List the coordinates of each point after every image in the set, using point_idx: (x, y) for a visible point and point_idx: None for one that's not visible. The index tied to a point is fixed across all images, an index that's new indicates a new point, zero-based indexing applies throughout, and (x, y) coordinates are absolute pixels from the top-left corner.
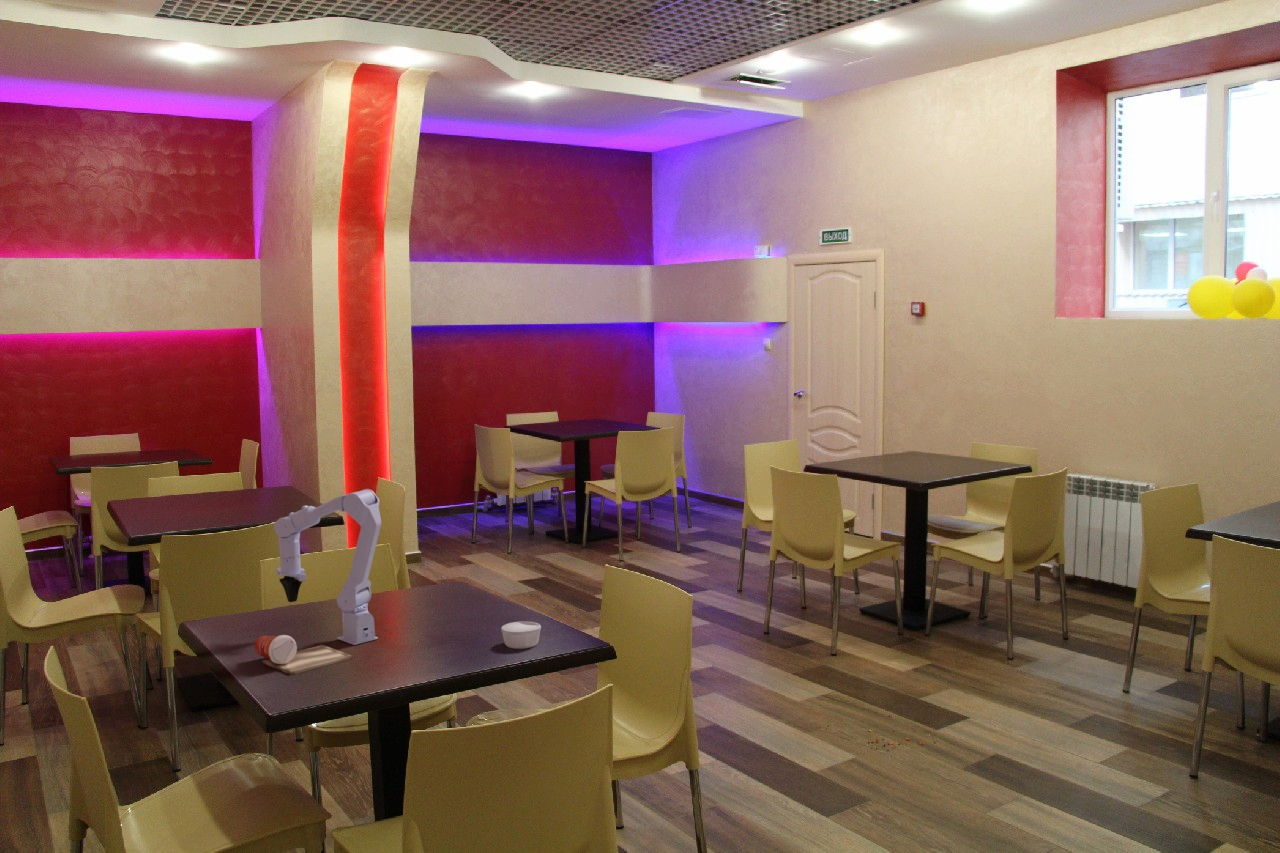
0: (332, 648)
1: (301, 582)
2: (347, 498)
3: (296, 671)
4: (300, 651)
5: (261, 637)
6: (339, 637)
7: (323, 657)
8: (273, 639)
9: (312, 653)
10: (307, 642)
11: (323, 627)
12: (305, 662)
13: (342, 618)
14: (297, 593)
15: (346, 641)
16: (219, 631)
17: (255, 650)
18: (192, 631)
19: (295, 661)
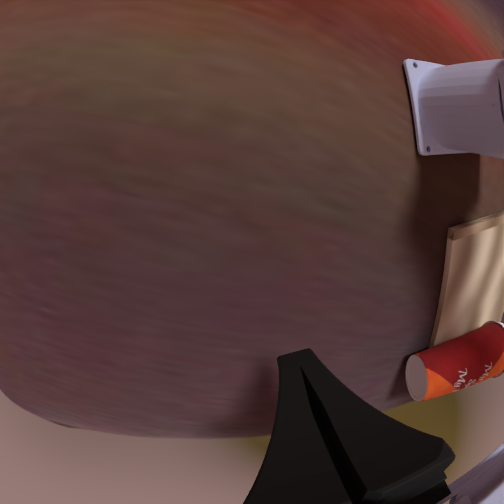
0: (487, 220)
1: (422, 434)
2: None
3: (501, 314)
4: (450, 293)
5: (431, 398)
6: (424, 148)
7: (502, 258)
8: (492, 376)
9: (477, 272)
10: (378, 247)
11: (211, 123)
12: (494, 295)
13: (491, 152)
14: (338, 383)
15: (459, 152)
16: (86, 402)
17: (409, 388)
18: (72, 426)
19: (480, 311)
